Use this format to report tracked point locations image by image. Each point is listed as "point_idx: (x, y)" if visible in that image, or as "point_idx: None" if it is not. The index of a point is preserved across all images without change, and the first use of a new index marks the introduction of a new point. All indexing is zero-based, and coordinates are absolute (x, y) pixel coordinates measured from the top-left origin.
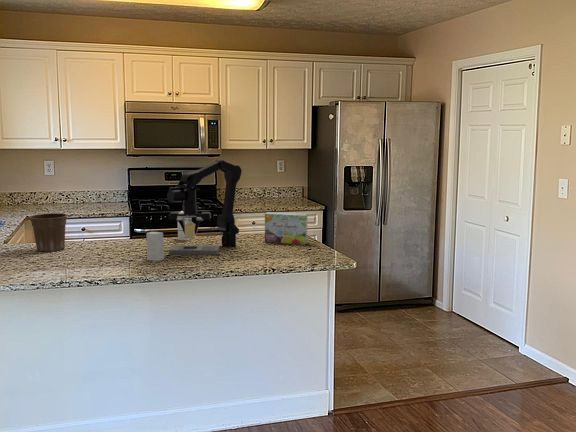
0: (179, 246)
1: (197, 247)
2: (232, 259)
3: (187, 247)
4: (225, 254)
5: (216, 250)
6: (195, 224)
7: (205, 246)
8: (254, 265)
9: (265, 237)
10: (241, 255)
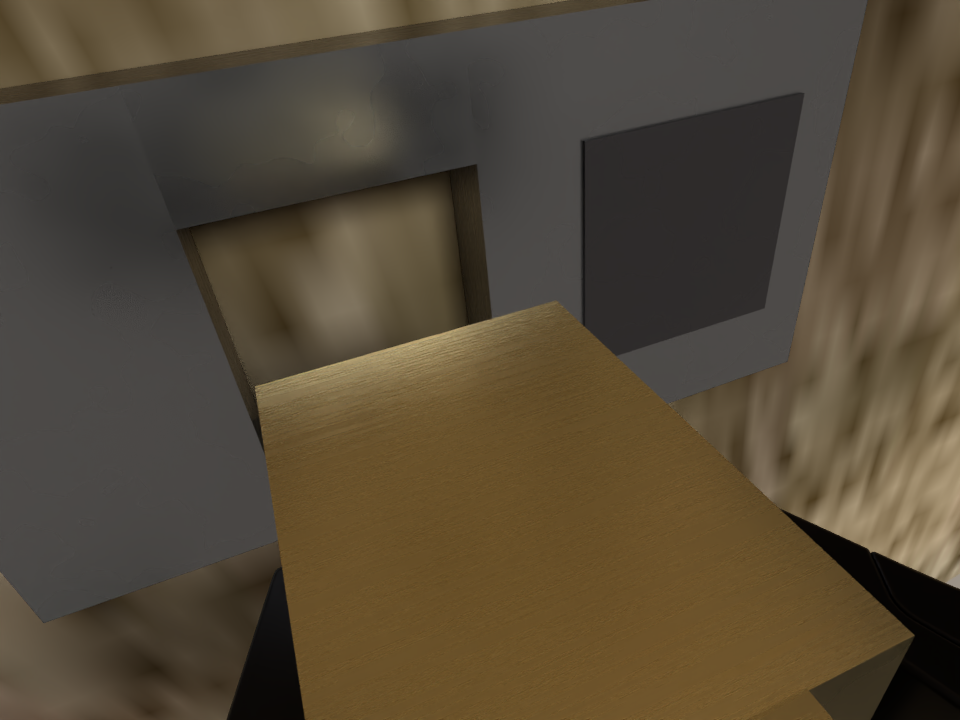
0: (24, 264)
1: (493, 264)
2: (842, 464)
3: (240, 208)
4: (825, 295)
5: (772, 363)
6: (869, 690)
7: (629, 151)
8: (927, 545)
9: None
10: (956, 293)
